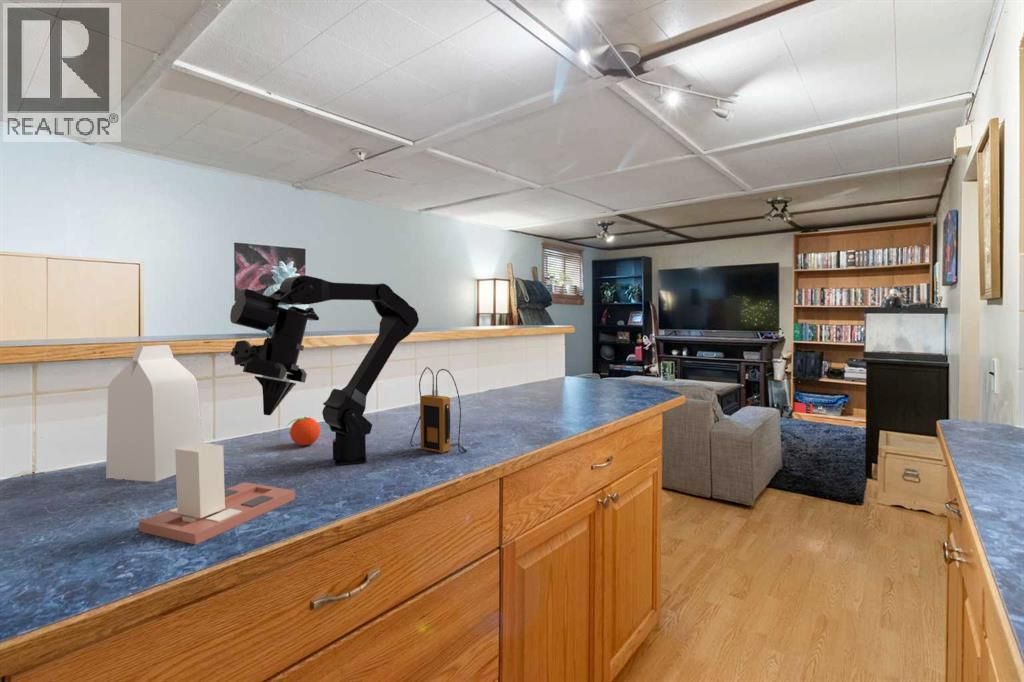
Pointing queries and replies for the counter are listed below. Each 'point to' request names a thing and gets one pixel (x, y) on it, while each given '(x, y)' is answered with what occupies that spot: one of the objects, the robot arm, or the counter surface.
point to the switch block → (219, 514)
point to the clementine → (304, 431)
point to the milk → (151, 416)
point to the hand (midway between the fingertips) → (267, 415)
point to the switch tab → (199, 481)
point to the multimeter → (436, 420)
